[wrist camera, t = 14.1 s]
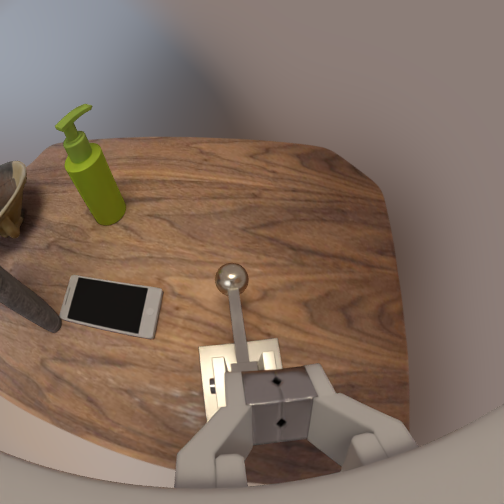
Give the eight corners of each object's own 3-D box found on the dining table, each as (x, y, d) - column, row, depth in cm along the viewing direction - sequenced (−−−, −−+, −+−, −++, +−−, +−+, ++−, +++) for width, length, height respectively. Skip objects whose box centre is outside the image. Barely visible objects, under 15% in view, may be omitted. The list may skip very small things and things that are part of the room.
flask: (17, 277, 40) (-46, 219, 25) (66, 315, 38) (-8, 259, 22) (7, 294, 39) (-59, 241, 23) (55, 336, 36) (-24, 288, 21)
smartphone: (153, 340, 37) (152, 338, 37) (61, 319, 38) (58, 317, 37) (163, 290, 41) (162, 288, 40) (73, 276, 41) (71, 273, 40)
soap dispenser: (136, 200, 48) (100, 105, 31) (110, 231, 45) (59, 139, 28) (114, 189, 50) (76, 98, 32) (89, 217, 47) (38, 130, 29)
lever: (215, 280, 35) (212, 257, 33) (246, 277, 35) (246, 254, 33) (228, 406, 24) (224, 392, 21) (269, 401, 24) (271, 386, 22)
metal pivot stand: (199, 348, 37) (177, 315, 24) (276, 339, 38) (296, 302, 25) (210, 438, 32) (192, 458, 19) (290, 428, 33) (320, 441, 20)
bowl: (58, 214, 47) (35, 181, 38) (-5, 279, 40) (-36, 255, 31) (31, 174, 52) (12, 145, 43) (-23, 228, 45) (-47, 203, 36)
